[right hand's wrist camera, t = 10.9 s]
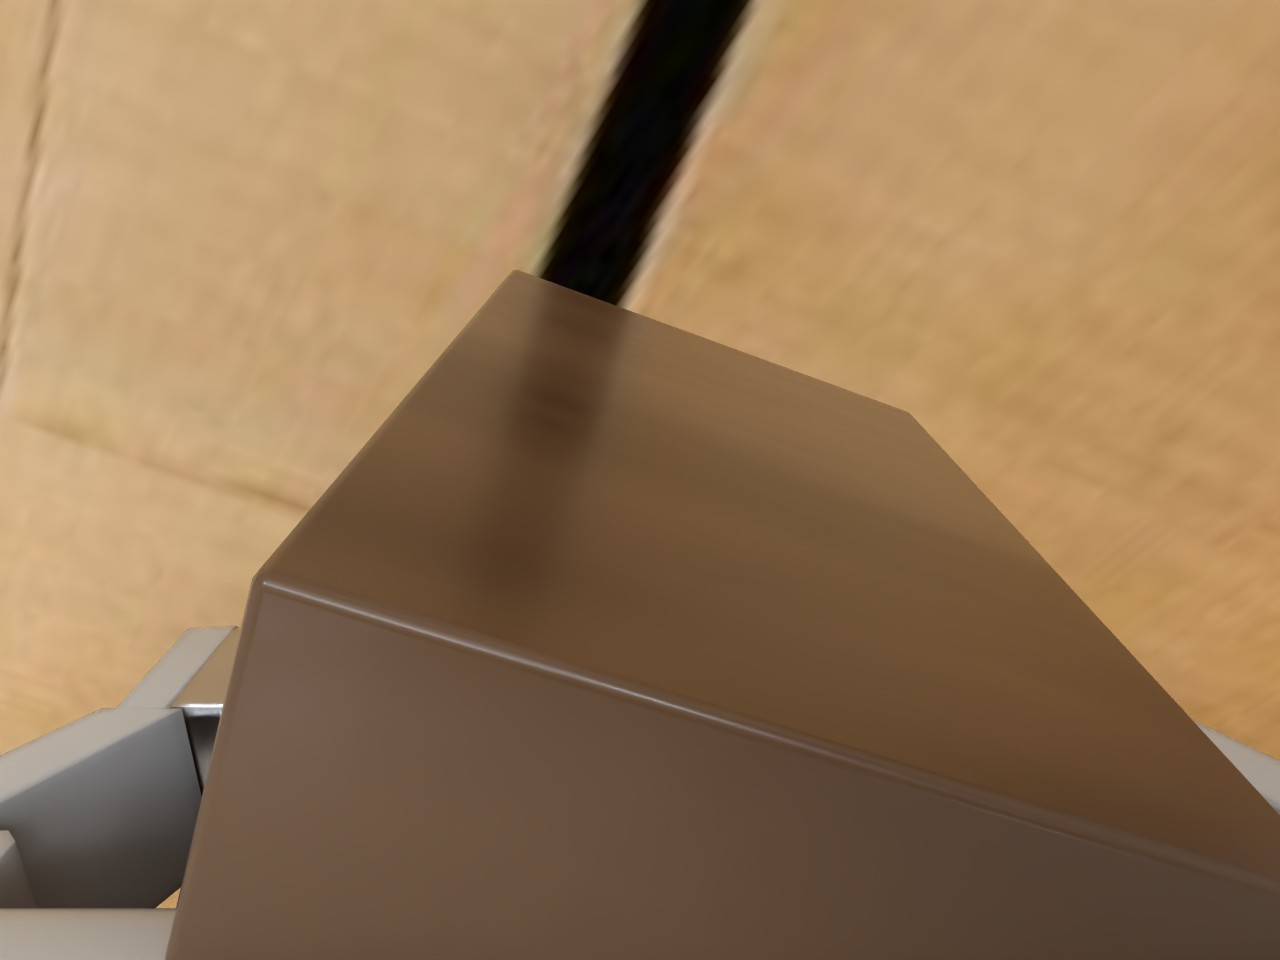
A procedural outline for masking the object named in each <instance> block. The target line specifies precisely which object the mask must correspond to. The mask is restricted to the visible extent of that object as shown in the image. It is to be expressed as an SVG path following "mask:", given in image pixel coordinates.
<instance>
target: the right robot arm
mask: <svg viewBox="0 0 1280 960" xmlns="http://www.w3.org/2000/svg"><path fill="white" fill-rule="evenodd" d="M240 630H241V627H240V628H239V627H237V626H212V627H195V628H190V629H187V631H186V632H185V633H184V634H183V635H182V636H181V637H180V638H179V639H178V640H177V642H176V643H175V644H174V645H173V646H172V647H171V648H170V649H169V650H168V652H167V653H166V654H165V655H164V656H163V657H162V658H161V659H160V660H159V662H158V663H157V664H156V665H155V666H154V667H153V668H152V669H151V670H150V671H149V673H148V674H147V675H146V676H145V677H144V678H143V679H142V680H141V681H140V683H139V684H138V685H137V686H136V687H135V688H134V689H133V690H132V691H131V693H130V694H129V695H128V696H127V697H126V698H125V699H124V700H123V701H122V703H121V704H120V705H119V706H118V707H117V708H102V709H99V710H97V711H95V712H93V713H91V714H89V715H87V716H84V717H82V718H80V719H78V720H76V721H74V722H71V723H69V724H67V725H65V726H63V727H61V728H59V729H56V730H54V731H52V732H50V733H48V734H46V735H44V736H41V737H39V738H37V739H35V740H33V741H31V742H28V743H26V744H24V745H22V746H20V747H18V748H16V749H13V750H11V751H9V752H7V753H5V754H3V755H0V960H165V955H166V950H167V946H168V942H169V937H170V933H171V929H172V924H173V920H174V916H175V911H176V908H156V907H157V906H158V905H160V904H161V903H162V902H163V901H164V900H166V899H167V898H168V897H169V896H170V895H172V894H173V893H174V892H175V891H177V890H178V889H179V888H180V887H181V885H182V881H183V877H184V872H185V868H186V864H187V859H188V855H189V851H190V846H191V842H192V838H193V833H194V829H195V825H196V820H197V816H198V812H199V807H200V803H201V799H202V795H203V790H204V786H205V782H206V777H207V773H208V769H209V764H210V760H211V756H212V751H213V747H214V743H215V738H216V734H217V730H218V725H219V721H220V717H221V712H222V708H223V704H224V699H225V695H226V691H227V686H228V682H229V678H230V673H231V669H232V665H233V660H234V656H235V652H236V647H237V643H238V639H239V634H240ZM1193 721H1194V720H1193ZM1194 722H1195V723H1196V724H1197V725H1198V727H1199V728H1200V729H1201V730H1202V731H1203V732H1204V733H1205V734H1206V735H1207V736H1208V737H1209V738H1210V740H1211V741H1212V742H1213V743H1214V744H1215V745H1216V746H1217V747H1218V748H1219V749H1220V750H1221V751H1222V753H1223V754H1224V755H1225V756H1226V757H1227V758H1228V759H1229V760H1230V761H1231V762H1232V763H1233V765H1234V766H1235V767H1236V768H1237V769H1238V770H1239V771H1240V772H1241V773H1242V774H1243V775H1244V776H1245V778H1246V779H1247V780H1248V781H1249V782H1250V783H1251V784H1252V785H1253V786H1254V787H1255V788H1256V789H1257V791H1258V792H1259V793H1260V794H1261V795H1262V796H1263V797H1264V798H1265V799H1266V800H1267V801H1268V802H1269V804H1270V805H1271V806H1272V807H1273V808H1274V809H1275V810H1276V811H1277V812H1278V813H1279V814H1280V761H1279V760H1277V759H1275V758H1273V757H1271V756H1268V755H1266V754H1264V753H1262V752H1260V751H1258V750H1256V749H1254V748H1251V747H1249V746H1247V745H1245V744H1243V743H1241V742H1239V741H1237V740H1234V739H1232V738H1230V737H1228V736H1226V735H1224V734H1222V733H1220V732H1217V731H1215V730H1213V729H1211V728H1209V727H1207V726H1205V725H1203V724H1200V723H1198V722H1196V721H1194Z"/></svg>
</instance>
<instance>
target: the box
mask: <svg viewBox="0 0 1280 960" xmlns="http://www.w3.org/2000/svg"><path fill="white" fill-rule="evenodd" d="M165 960H1280V814H1279V813H1278V812H1277V811H1276V810H1275V809H1274V808H1273V807H1272V806H1271V805H1270V804H1269V802H1268V801H1267V800H1266V799H1265V798H1264V797H1263V796H1262V795H1261V794H1260V793H1259V792H1258V791H1257V789H1256V788H1255V787H1254V786H1253V785H1252V784H1251V783H1250V782H1249V781H1248V780H1247V779H1246V778H1245V776H1244V775H1243V774H1242V773H1241V772H1240V771H1239V770H1238V769H1237V768H1236V767H1235V766H1234V765H1233V763H1232V762H1231V761H1230V760H1229V759H1228V758H1227V757H1226V756H1225V755H1224V754H1223V753H1222V751H1221V750H1220V749H1219V748H1218V747H1217V746H1216V745H1215V744H1214V743H1213V742H1212V741H1211V740H1210V738H1209V737H1208V736H1207V735H1206V734H1205V733H1204V732H1203V731H1202V730H1201V729H1200V728H1199V727H1198V725H1197V724H1196V723H1195V722H1194V721H1193V720H1192V719H1191V718H1190V717H1189V716H1188V715H1187V714H1186V712H1185V711H1184V710H1183V709H1182V708H1181V707H1180V706H1179V705H1178V704H1177V703H1176V702H1175V701H1174V699H1173V698H1172V697H1171V696H1170V695H1169V694H1168V693H1167V692H1166V691H1165V690H1164V689H1163V688H1162V686H1161V685H1160V684H1159V683H1158V682H1157V681H1156V680H1155V679H1154V678H1153V677H1152V676H1151V674H1150V673H1149V672H1148V671H1147V670H1146V669H1145V668H1144V667H1143V666H1142V665H1141V664H1140V663H1139V661H1138V660H1137V659H1136V658H1135V657H1134V656H1133V655H1132V654H1131V653H1130V652H1129V651H1128V650H1127V648H1126V647H1125V646H1124V645H1123V644H1122V643H1121V642H1120V641H1119V640H1118V639H1117V638H1116V637H1115V635H1114V634H1113V633H1112V632H1111V631H1110V630H1109V629H1108V628H1107V627H1106V626H1105V625H1104V624H1103V622H1102V621H1101V620H1100V619H1099V618H1098V617H1097V616H1096V615H1095V614H1094V613H1093V612H1092V610H1091V609H1090V608H1089V607H1088V606H1087V605H1086V604H1085V603H1084V602H1083V601H1082V600H1081V599H1080V597H1079V596H1078V595H1077V594H1076V593H1075V592H1074V591H1073V590H1072V589H1071V588H1070V587H1069V586H1068V584H1067V583H1066V582H1065V581H1064V580H1063V579H1062V578H1061V577H1060V576H1059V575H1058V574H1057V573H1056V571H1055V570H1054V569H1053V568H1052V567H1051V566H1050V565H1049V564H1048V563H1047V562H1046V561H1045V560H1044V558H1043V557H1042V556H1041V555H1040V554H1039V553H1038V552H1037V551H1036V550H1035V549H1034V548H1033V547H1032V545H1031V544H1030V543H1029V542H1028V541H1027V540H1026V539H1025V538H1024V537H1023V536H1022V535H1021V533H1020V532H1019V531H1018V530H1017V529H1016V528H1015V527H1014V526H1013V525H1012V524H1011V523H1010V522H1009V520H1008V519H1007V518H1006V517H1005V516H1004V515H1003V514H1002V513H1001V512H1000V511H999V510H998V509H997V507H996V506H995V505H994V504H993V503H992V502H991V501H990V500H989V499H988V498H987V497H986V496H985V494H984V493H983V492H982V491H981V490H980V489H979V488H978V487H977V486H976V485H975V484H974V483H973V481H972V480H971V479H970V478H969V477H968V476H967V475H966V474H965V473H964V472H963V471H962V470H961V468H960V467H959V466H958V465H957V464H956V463H955V462H954V461H953V460H952V459H951V458H950V456H949V455H948V454H947V453H946V452H945V451H944V450H943V449H942V448H941V447H940V446H939V445H938V443H937V442H936V441H935V440H934V439H933V438H932V437H931V436H930V435H929V434H928V433H927V432H926V430H925V429H924V428H923V427H922V426H921V425H920V424H919V423H918V422H917V421H916V420H915V419H914V417H913V416H912V415H911V414H910V413H908V412H906V411H903V410H900V409H897V408H895V407H892V406H889V405H886V404H884V403H881V402H878V401H875V400H873V399H870V398H867V397H864V396H862V395H859V394H856V393H853V392H851V391H848V390H845V389H842V388H840V387H837V386H834V385H831V384H829V383H826V382H823V381H820V380H818V379H815V378H812V377H810V376H807V375H804V374H801V373H799V372H796V371H793V370H790V369H788V368H785V367H782V366H779V365H777V364H774V363H771V362H768V361H766V360H763V359H760V358H757V357H755V356H752V355H749V354H746V353H744V352H741V351H738V350H735V349H733V348H730V347H727V346H724V345H722V344H719V343H716V342H714V341H711V340H708V339H705V338H703V337H700V336H697V335H694V334H692V333H689V332H686V331H683V330H681V329H678V328H675V327H672V326H670V325H667V324H664V323H661V322H659V321H656V320H653V319H650V318H648V317H645V316H642V315H639V314H637V313H634V312H631V311H628V310H626V309H623V308H620V307H618V306H615V305H612V304H609V303H607V302H604V301H601V300H598V299H596V298H593V297H590V296H587V295H585V294H582V293H579V292H576V291H574V290H571V289H568V288H565V287H563V286H560V285H557V284H554V283H552V282H549V281H546V280H543V279H541V278H538V277H535V276H532V275H530V274H527V273H524V272H522V271H519V270H513V271H512V272H511V273H510V274H509V276H508V277H507V278H506V279H505V280H504V282H503V283H502V284H501V285H500V286H499V287H498V289H497V290H496V291H495V292H494V293H493V295H492V296H491V297H490V298H489V299H488V300H487V302H486V303H485V304H484V305H483V306H482V308H481V309H480V310H479V311H478V312H477V313H476V315H475V316H474V317H473V318H472V319H471V321H470V322H469V323H468V324H467V325H466V326H465V328H464V329H463V330H462V331H461V332H460V334H459V335H458V336H457V337H456V338H455V339H454V341H453V342H452V343H451V344H450V345H449V347H448V348H447V349H446V350H445V351H444V352H443V354H442V355H441V356H440V357H439V358H438V360H437V361H436V362H435V363H434V364H433V365H432V367H431V368H430V369H429V370H428V371H427V373H426V374H425V375H424V376H423V377H422V378H421V380H420V381H419V382H418V383H417V384H416V386H415V387H414V388H413V389H412V390H411V391H410V393H409V394H408V395H407V396H406V397H405V398H404V400H403V401H402V402H401V403H400V404H399V406H398V407H397V408H396V409H395V410H394V411H393V413H392V414H391V415H390V416H389V417H388V419H387V420H386V421H385V422H384V423H383V424H382V426H381V427H380V428H379V429H378V430H377V432H376V433H375V434H374V435H373V436H372V437H371V439H370V440H369V441H368V442H367V443H366V445H365V446H364V447H363V448H362V449H361V450H360V452H359V453H358V454H357V455H356V456H355V458H354V459H353V460H352V461H351V462H350V463H349V465H348V466H347V467H346V468H345V469H344V471H343V472H342V473H341V474H340V475H339V476H338V478H337V479H336V480H335V481H334V482H333V484H332V485H331V486H330V487H329V488H328V489H327V491H326V492H325V493H324V494H323V495H322V497H321V498H320V499H319V500H318V501H317V502H316V504H315V505H314V506H313V507H312V508H311V510H310V511H309V512H308V513H307V514H306V515H305V517H304V518H303V519H302V520H301V521H300V523H299V524H298V525H297V526H296V527H295V528H294V530H293V531H292V532H291V533H290V534H289V535H288V537H287V538H286V539H285V540H284V541H283V543H282V544H281V545H280V546H279V547H278V548H277V550H276V551H275V552H274V553H273V554H272V556H271V557H270V558H269V559H268V560H267V561H266V563H265V564H264V565H263V566H262V567H261V569H260V570H259V571H258V572H257V573H256V574H255V576H254V577H253V578H252V583H251V587H250V591H249V596H248V600H247V604H246V609H245V613H244V617H243V622H242V626H241V630H240V634H239V639H238V643H237V647H236V652H235V656H234V660H233V665H232V669H231V673H230V678H229V682H228V686H227V691H226V695H225V699H224V704H223V708H222V712H221V717H220V721H219V725H218V730H217V734H216V738H215V743H214V747H213V751H212V756H211V760H210V764H209V769H208V773H207V777H206V782H205V786H204V790H203V795H202V799H201V803H200V807H199V812H198V816H197V820H196V825H195V829H194V833H193V838H192V842H191V846H190V851H189V855H188V859H187V864H186V868H185V872H184V877H183V881H182V885H181V890H180V894H179V898H178V903H177V907H176V911H175V916H174V920H173V924H172V929H171V933H170V937H169V942H168V946H167V950H166V955H165Z"/></svg>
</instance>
